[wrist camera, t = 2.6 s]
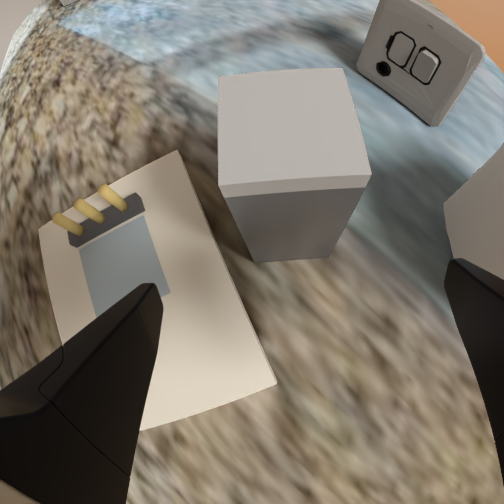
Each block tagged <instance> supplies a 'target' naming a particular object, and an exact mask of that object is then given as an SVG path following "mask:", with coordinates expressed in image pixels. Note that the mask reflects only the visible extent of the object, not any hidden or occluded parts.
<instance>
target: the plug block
mask: <svg viewBox="0 0 504 504" xmlns="http://www.w3.org/2000/svg"><path fill="white" fill-rule="evenodd" d="M371 175H372V173H371V169H370V164H369V160H368V156H367V152H366V148H365V144H364V140H363V136H362V132H361V128H360V125H359V121H358V117H357V114H356V110H355V107H354V103H353V100H352V97H351V93H350V90H349V87H348V84H347V81H346V77H345V74H344V71H343V68H316V69H292V70H277V71H264V72H254V73H245V74H236V75H228V76H221V77H218V186H219V188H220V190H221V192H222V195H223V197H224V199H225V201H226V203H227V205H228V207H229V209H230V212H231V214H232V216H233V218H234V220H235V222H236V224H237V226H238V229H239V231H240V233H241V235H242V237H243V239H244V241H245V243H246V246H247V248H248V250H249V252H250V254H251V256H252V258H253V260H254V263H261V262H274V261H287V260H300V259H313V258H325V257H329V256H330V254H331V252H332V250H333V249H334V247H335V245H336V243H337V241H338V239H339V237H340V236H341V234H342V232H343V230H344V228H345V226H346V224H347V222H348V220H349V219H350V217H351V215H352V213H353V211H354V209H355V207H356V205H357V203H358V201H359V199H360V197H361V195H362V193H363V191H364V189H365V187H366V185H367V183H368V181H369V179H370V177H371Z"/></svg>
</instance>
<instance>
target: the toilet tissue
mask: <svg viewBox="0 0 504 504" xmlns="http://www.w3.org/2000/svg"><path fill="white" fill-rule="evenodd" d="M443 211H444V216H445V223H446V231H447V234H448V237H449V241H450V245H451V250H452V254H453V258H463V259H465V260H467V261H469V262H471V263H473V264H475V265H477V266H479V267H481V268H483V269H484V270H486V271H488V272H490V273H492V274H494V275H496V276H498V277H499V278H501V279H503V280H504V143H503V145H502V146H501V148H500V149H499V150H498V151H497V152H496V153H495V154H494V155H493V156H492V157H491V158H490V159H489V160H488V161H487V162H486V163H485V164H484V165H483V166H482V167H481V168H479V169H478V170H477V172H476V173H474V174H473V175H472V177H471V178H470V179H468V180H467V181H466V183H464V184H463V185H462V186H461V188H460V189H458V190H457V191H456V192H455V193H454V194H453V195H452V196H450V197H449V199H448V200H447V201H445V202H444V203H443Z"/></svg>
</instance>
